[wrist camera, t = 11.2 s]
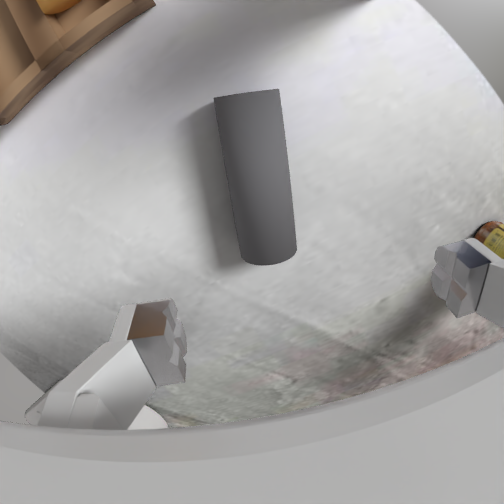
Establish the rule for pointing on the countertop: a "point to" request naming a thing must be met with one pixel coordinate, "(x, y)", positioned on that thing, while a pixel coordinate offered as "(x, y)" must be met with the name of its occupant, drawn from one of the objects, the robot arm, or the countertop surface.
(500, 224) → the sauce bottle
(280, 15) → the countertop surface
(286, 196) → the charcoal rod
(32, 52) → the slot rack
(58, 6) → the orange rod
